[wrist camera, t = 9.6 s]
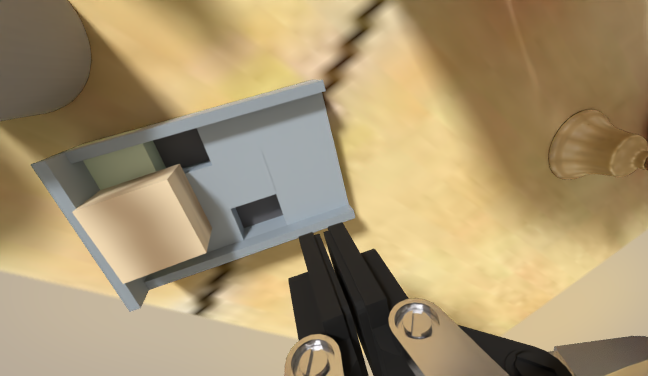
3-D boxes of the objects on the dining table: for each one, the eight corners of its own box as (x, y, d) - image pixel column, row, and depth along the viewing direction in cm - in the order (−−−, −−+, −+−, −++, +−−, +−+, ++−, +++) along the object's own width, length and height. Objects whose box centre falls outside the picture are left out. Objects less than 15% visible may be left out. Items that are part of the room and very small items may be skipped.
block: (179, 163, 23) (166, 179, 19) (212, 227, 25) (206, 252, 22) (100, 190, 22) (71, 211, 19) (141, 253, 25) (123, 284, 21)
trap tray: (312, 79, 26) (330, 80, 20) (342, 201, 30) (363, 228, 25) (81, 144, 23) (30, 164, 18) (152, 265, 28) (129, 311, 22)
